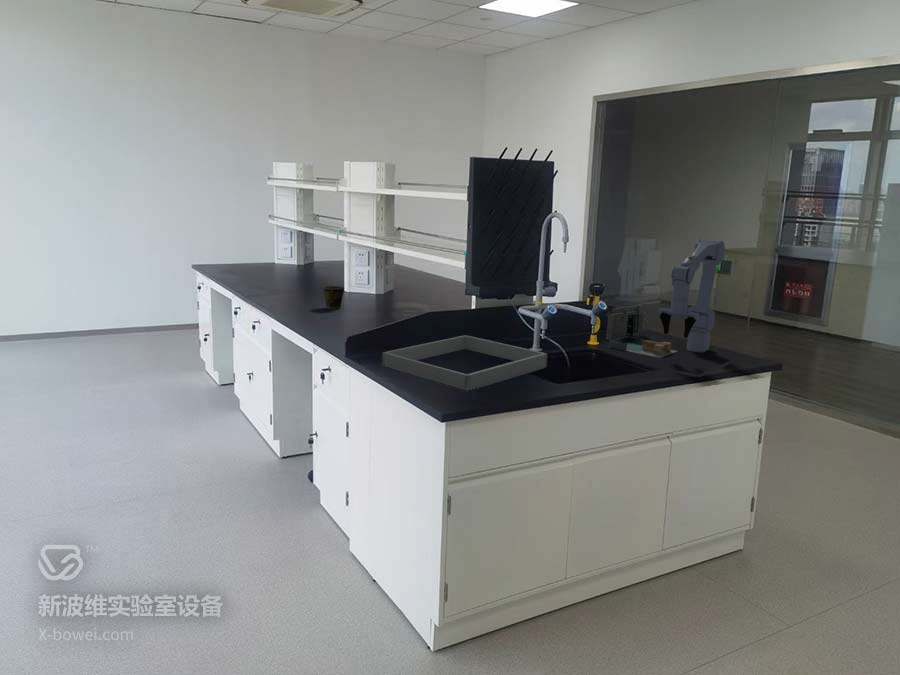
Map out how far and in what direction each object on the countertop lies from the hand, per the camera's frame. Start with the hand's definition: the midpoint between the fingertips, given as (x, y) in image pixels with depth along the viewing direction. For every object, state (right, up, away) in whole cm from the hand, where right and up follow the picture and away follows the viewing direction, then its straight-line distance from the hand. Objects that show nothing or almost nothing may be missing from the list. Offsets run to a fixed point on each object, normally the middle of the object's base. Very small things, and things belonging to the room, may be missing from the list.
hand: (676, 335), depth 258 cm
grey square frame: (-78, -11, -17) cm, 81 cm away
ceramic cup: (-139, +13, +79) cm, 161 cm away
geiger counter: (-7, -1, +42) cm, 43 cm away
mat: (-8, -6, +17) cm, 20 cm away
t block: (-4, -6, +13) cm, 15 cm away
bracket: (-13, -4, +21) cm, 25 cm away
